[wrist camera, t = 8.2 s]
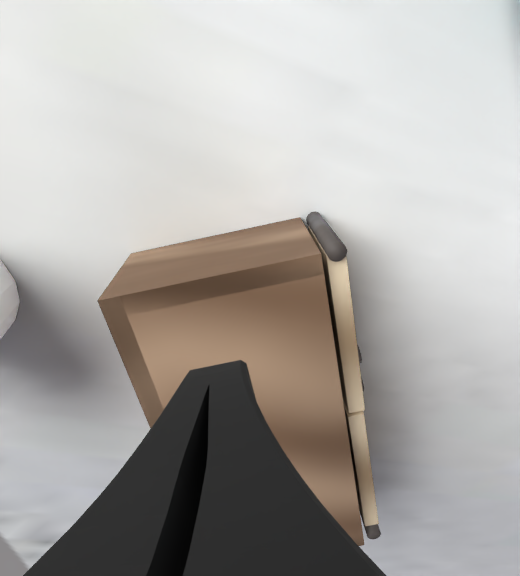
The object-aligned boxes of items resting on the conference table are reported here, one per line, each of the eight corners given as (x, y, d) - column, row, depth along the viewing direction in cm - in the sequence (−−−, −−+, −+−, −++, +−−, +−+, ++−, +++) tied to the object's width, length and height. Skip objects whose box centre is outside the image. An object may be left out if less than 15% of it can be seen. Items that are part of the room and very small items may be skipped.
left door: (368, 463, 25) (394, 535, 21) (345, 467, 25) (367, 540, 21) (353, 354, 22) (381, 413, 17) (327, 359, 22) (349, 420, 17)
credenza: (367, 460, 25) (396, 539, 20) (215, 489, 25) (210, 573, 21) (335, 206, 18) (368, 239, 14) (129, 250, 19) (95, 296, 14)
